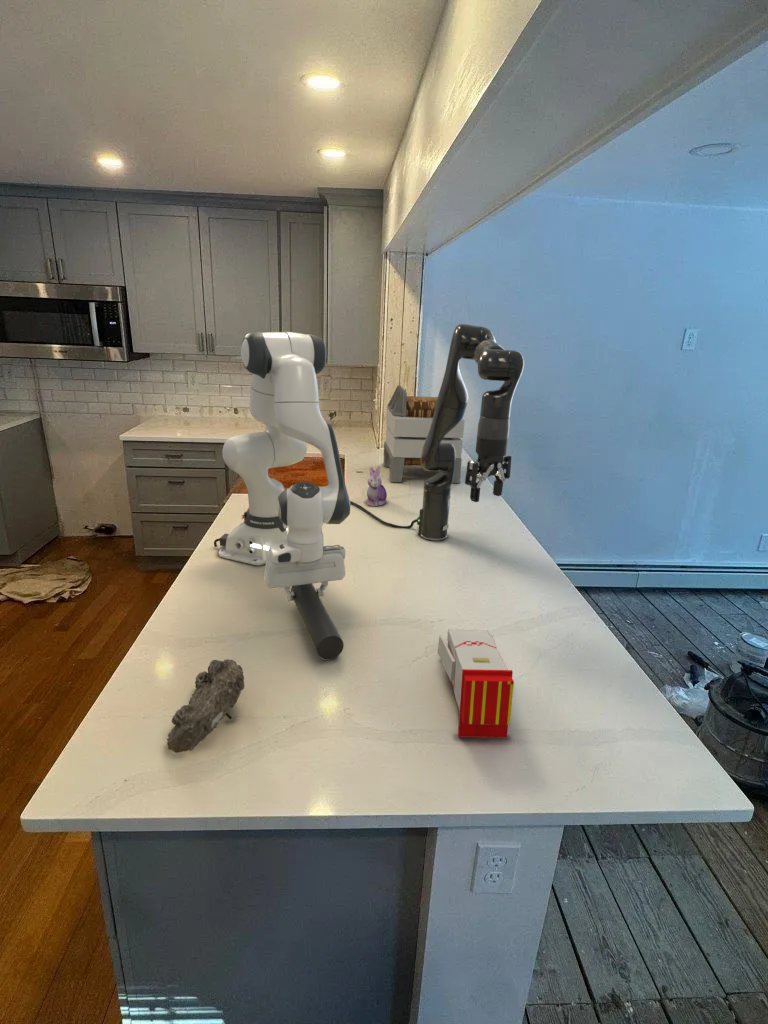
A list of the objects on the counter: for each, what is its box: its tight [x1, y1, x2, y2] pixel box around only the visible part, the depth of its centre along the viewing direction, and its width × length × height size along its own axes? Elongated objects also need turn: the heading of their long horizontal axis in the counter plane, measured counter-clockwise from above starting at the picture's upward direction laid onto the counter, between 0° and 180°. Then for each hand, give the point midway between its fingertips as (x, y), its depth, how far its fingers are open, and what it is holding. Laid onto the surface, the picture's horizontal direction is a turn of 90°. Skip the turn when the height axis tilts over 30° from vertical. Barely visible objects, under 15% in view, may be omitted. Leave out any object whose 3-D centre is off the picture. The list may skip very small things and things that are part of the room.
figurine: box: [366, 466, 388, 507], centre depth 227 cm, size 9×10×15 cm
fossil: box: [166, 658, 245, 754], centre depth 106 cm, size 22×10×15 cm
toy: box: [437, 628, 515, 738], centre depth 117 cm, size 12×13×30 cm
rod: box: [290, 583, 345, 661], centre depth 136 cm, size 28×6×6 cm, turn 21°
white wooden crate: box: [383, 384, 465, 484], centre depth 268 cm, size 34×33×41 cm
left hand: (305, 597), depth 145 cm, fingers closed on rod, 6 cm apart
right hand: (485, 498), depth 143 cm, fingers open, 8 cm apart
